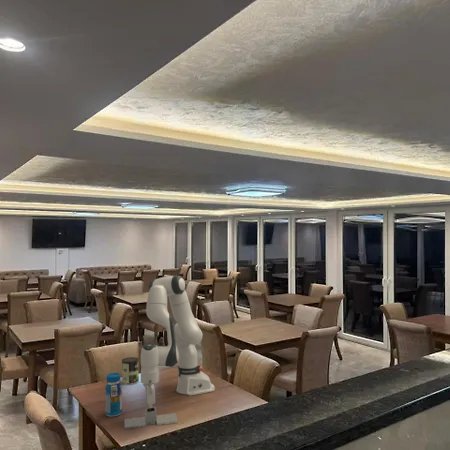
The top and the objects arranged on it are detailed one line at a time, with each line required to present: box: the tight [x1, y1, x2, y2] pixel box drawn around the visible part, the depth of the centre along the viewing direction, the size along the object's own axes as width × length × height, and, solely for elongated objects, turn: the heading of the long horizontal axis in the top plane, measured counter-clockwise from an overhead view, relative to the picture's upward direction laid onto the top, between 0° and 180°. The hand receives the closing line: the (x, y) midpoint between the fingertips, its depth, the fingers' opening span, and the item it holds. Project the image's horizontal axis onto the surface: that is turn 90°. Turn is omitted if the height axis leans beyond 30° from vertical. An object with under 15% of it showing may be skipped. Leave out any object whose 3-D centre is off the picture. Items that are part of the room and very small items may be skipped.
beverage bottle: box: [104, 372, 123, 418], centre depth 216 cm, size 8×8×20 cm
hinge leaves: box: [124, 406, 179, 430], centre depth 206 cm, size 25×9×6 cm, turn 103°
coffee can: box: [121, 356, 140, 386], centre depth 263 cm, size 10×10×14 cm
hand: (150, 406), depth 206 cm, fingers closed on pin, 2 cm apart
